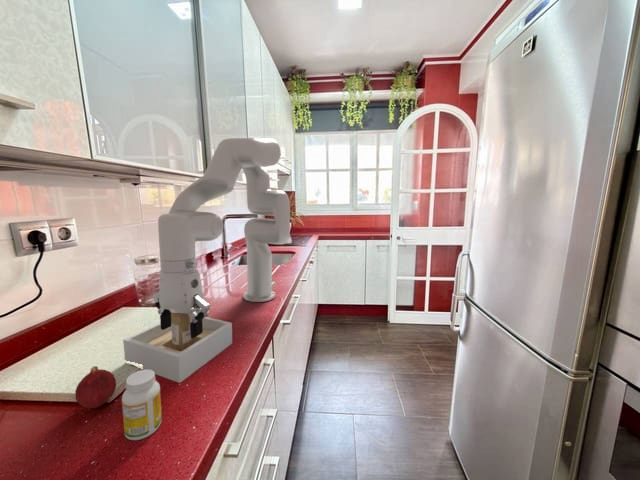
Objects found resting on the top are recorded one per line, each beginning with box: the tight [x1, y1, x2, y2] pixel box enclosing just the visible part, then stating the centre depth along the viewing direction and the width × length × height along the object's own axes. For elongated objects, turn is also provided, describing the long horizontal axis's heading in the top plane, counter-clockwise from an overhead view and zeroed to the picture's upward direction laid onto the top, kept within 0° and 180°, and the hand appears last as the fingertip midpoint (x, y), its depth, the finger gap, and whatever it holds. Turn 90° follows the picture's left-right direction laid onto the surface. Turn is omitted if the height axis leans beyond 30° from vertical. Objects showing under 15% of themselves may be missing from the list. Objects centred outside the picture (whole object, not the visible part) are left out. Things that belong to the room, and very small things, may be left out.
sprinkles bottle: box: [170, 309, 192, 351], centre depth 66 cm, size 5×5×14 cm
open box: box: [122, 313, 233, 384], centre depth 67 cm, size 17×17×6 cm
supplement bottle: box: [121, 369, 163, 441], centre depth 45 cm, size 5×5×10 cm
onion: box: [74, 365, 117, 409], centre depth 49 cm, size 6×6×8 cm
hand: (181, 331), depth 66 cm, fingers open, 9 cm apart
